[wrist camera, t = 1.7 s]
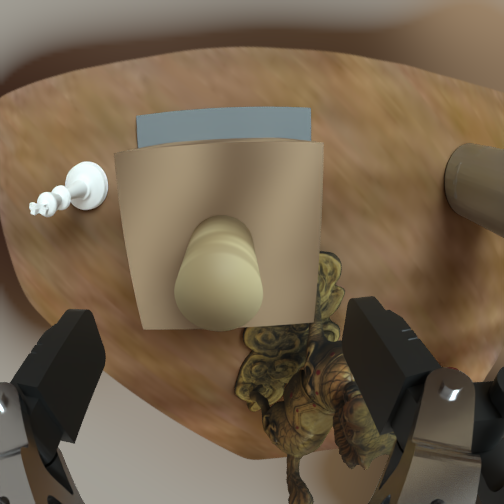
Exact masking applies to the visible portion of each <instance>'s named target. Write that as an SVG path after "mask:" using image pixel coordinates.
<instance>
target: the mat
mask: <svg viewBox="0 0 504 504" xmlns="http://www.w3.org/2000/svg"><path fill="white" fill-rule="evenodd" d="M136 118H137V139H138V148H142V147H148V146H153V145H158V144H164V143H171V142H183V141H196V140H211V139H232V138H289V139H298V140H306V141H311V108H300V107H230V108H210V109H195V110H184V111H173V112H164V113H155V114H148V115H140V116H136Z"/></svg>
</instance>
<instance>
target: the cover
mask: <svg viewBox="0 0 504 504" xmlns="http://www.w3.org/2000/svg"><path fill="white" fill-rule="evenodd" d="M323 144H324V143H322V142H314V141H306V140H298V139H289V138H232V139H211V140H196V141H183V142H171V143H164V144H158V145H153V146H148V147H142V148H137V149H132V150H128V151H123V152H118V153H114V157H115V169H116V179H117V189H118V197H119V205H120V213H121V220H122V227H123V233H124V239H125V245H126V251H127V257H128V262H129V268H130V273H131V278H132V283H133V288H134V292H135V297H136V302H137V306H138V310H139V314H140V319H141V323H142V327H143V329H147V330H169V329H207V330H211V331H228V330H233V329H236V328H240V327H259V326H274V325H288V324H301V323H312V322H314V314H315V304H316V293H317V281H318V268H319V253H320V237H321V218H322V193H323Z"/></svg>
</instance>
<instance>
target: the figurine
mask: <svg viewBox="0 0 504 504" xmlns="http://www.w3.org/2000/svg"><path fill="white" fill-rule="evenodd" d="M341 268H342V267H341V261H340V260H339V258H338V257H337V256H336V255H335V254H333V253H331V252H323V251H320V253H319V268H318V281H317V293H316V304H315V314H314V322H312V323H301V324H288V325H274V326H259V327H246V328H245V330H244V332H243V341H244V343H245V345H246V346H247V347H249V348H250V349H251V350H252V352H251V354H250V355H249V356H248V357H247V358H246V360H245V361H244V363H243V364H242V366H241V368H240V372H239V376H238V379H237V381H236V385H235V394H236V395H237V396H238V397H239V398H240V399H242V400H245V401H247V405H248V408H249V410H250V411H258V410H259V409H261V410H262V423H263V428H264V431H265V432H266V433H267V435H268V436H269V438H270V439H271V441H272V443H273V444H275V445H276V446H277V447H278V448H279V449H280V450H282V451H283V452H285V453H287V484H288V492H289V494H290V496H289V499H288V501H289V504H313V497H312V495H311V493H310V492H309V489H308V488H307V487H306V484H305V483H304V482H303V481H302V479H301V478H300V475H299V462H300V459H301V458H302V457H303V456H304V455H307V454H309V453H312V452H314V451H315V450H316V449H318V448H319V447H320V445H321V444H322V443H323V441H324V439H325V438H326V436H327V434H328V433H329V431H330V429H331V428H332V427H333V428H334V435H335V443H336V445H337V446H338V447H339V454H340V455H342V459H343V462H344V463H346V464H347V466H348V467H349V468H351V469H353V468H354V467H355V466H356V465H361V466H362V467H363V468H364V470H365V469H366V470H367V469H368V468H369V466H370V463H371V462H372V460H374V459H375V458H377V457H379V456H381V455H384V454H388V455H390V452H391V449H392V447H393V444H394V442H395V440H396V436H395V434H394V432H390V433H387V434H383V435H379V432H378V430H377V428H376V426H375V423H374V421H373V419H372V417H371V414H370V412H369V410H368V408H367V406H366V403H365V401H364V399H363V397H362V395H361V392H360V390H359V388H358V386H357V384H356V382H355V379H354V377H353V375H352V373H351V371H350V369H349V367H348V365H347V362H346V360H345V358H344V355H343V351H342V341H338V339H339V336H340V328H339V326H338V325H337V324H335V323H334V322H332V321H331V320H330V318H329V316H331V315H332V314H333V313H334V312H335V311H336V310H337V309H338V307H339V306H340V304H341V301H342V299H343V297H344V294H345V290H344V289H343V288H341V287H338V286H336V282H337V280H338V279H339V277H340V275H341ZM303 366H304V370H300V371H299V369H300V368H302V367H303ZM286 383H288V384H287V385H286V388H285V390H284V387H285V384H286ZM282 395H284V401H280V402H277V403H275V402H276V401H278V400H279V399H280V398H281V397H282ZM273 403H275V404H274V405H272V406H271V408H270V406H269V405H270V404H273Z"/></svg>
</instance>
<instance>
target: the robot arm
mask: <svg viewBox="0 0 504 504" xmlns="http://www.w3.org/2000/svg"><path fill="white" fill-rule="evenodd" d="M445 192H446V196H447V200H448V202H449V204H450V206H451V208H452V209H453V210H454V211H455V212H456V213H457V214H459V215H460V216H462V217H465V218H467V219H469V220H471V221H473V222H475V223H476V224H478V225H480V226H482V227H484V228H486V229H488V230H490V231H492V232H493V233H495V234H497V235H499V236H501V237H503V238H504V149H499V148H494V147H489V146H484V145H478V144H472V143H468V144H464V145H462V146H460V147H459V148H458V149H456V150H455V152H454V153H453V154H452V156H451V158H450V160H449V162H448V165H447V168H446V173H445ZM342 351H343V355H344V358H345V360H346V362H347V365H348V367H349V369H350V371H351V373H352V375H353V377H354V379H355V382H356V384H357V386H358V388H359V390H360V392H361V395H362V397H363V399H364V401H365V403H366V406H367V408H368V410H369V412H370V414H371V417H372V419H373V421H374V423H375V426H376V428H377V430H378V432H379V435H383V434H387V433H390V432H394V434H395V436H396V440H395V442H394V444H393V447H392V449H391V452H390V455H389V458H388V460H387V463H386V465H385V468H384V470H383V473H382V475H381V478H380V480H379V483H378V485H377V487H376V490H375V492H374V494H373V496H372V498H371V500H370V501H369V503H368V504H475V501H476V496H477V493H478V495H479V497H480V500H481V502H482V504H504V439H503V437H504V367H502V368H501V369H500V371H499V372H498V374H497V376H496V377H495V379H494V381H490V382H475V383H473V382H472V380H471V379H470V378H469V377H468V376H467V375H466V374H464V373H463V372H461V371H459V370H457V369H453V368H442V367H441V366H440V365H439V363H438V362H437V361H436V359H435V358H434V357H433V355H432V354H431V353H430V352H429V350H428V349H427V348H426V347H425V345H424V344H423V343H422V341H421V340H420V339H418V338H417V335H416V334H415V333H414V331H413V330H411V328H410V327H409V325H408V324H407V323H406V322H405V320H404V319H403V318H402V317H400V316H399V315H397V314H395V313H394V312H392V311H391V310H385V309H384V308H383V306H382V305H381V304H380V303H379V301H378V300H377V299H376V298H375V297H374V296H370V297H361V298H352V299H350V300H349V302H348V306H347V312H346V319H345V325H344V331H343V337H342ZM105 359H106V356H105V349H104V346H103V343H102V340H101V337H100V334H99V332H98V328H97V325H96V322H95V319H94V316H93V314H92V312H91V311H90V310H81V309H68V310H67V311H66V312H65V313H64V314H63V316H62V317H61V318H60V320H59V321H58V323H57V324H55V325H54V326H52V327H51V328H50V329H48V330H47V331H46V332H45V333H44V334H43V335H42V336H41V338H40V339H39V341H38V342H37V345H35V346H34V348H33V349H32V351H31V353H30V354H29V355H28V356H27V358H26V359H25V361H24V362H23V364H22V365H21V367H20V368H19V370H18V371H17V373H16V374H15V376H14V378H13V379H12V381H11V382H10V383H7V382H0V504H85V503H84V502H83V500H82V498H81V496H80V494H79V492H78V490H77V488H76V486H75V484H74V481H73V479H72V477H71V475H70V472H69V470H68V468H67V465H66V463H65V460H64V457H63V455H62V452H61V450H60V449H59V448H58V445H59V443H60V440H61V441H66V442H70V443H75V441H76V438H77V435H78V432H79V429H80V427H81V424H82V421H83V419H84V416H85V413H86V411H87V408H88V405H89V403H90V400H91V398H92V395H93V393H94V390H95V388H96V385H97V383H98V381H99V378H100V376H101V373H102V371H103V369H104V366H105Z"/></svg>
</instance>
